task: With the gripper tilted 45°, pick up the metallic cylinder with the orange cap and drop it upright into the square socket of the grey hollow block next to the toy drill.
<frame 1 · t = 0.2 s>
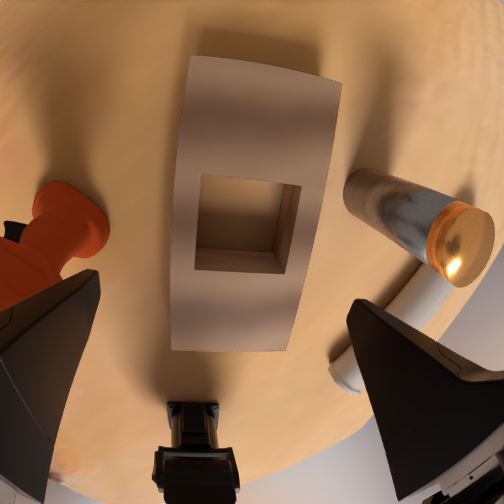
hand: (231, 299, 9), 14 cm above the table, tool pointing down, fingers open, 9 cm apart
grey hollow block: (239, 212, 23), on the table
tube: (404, 291, 30), on the table
toy drill: (36, 190, 19), on the table
metallic cylinder: (365, 193, 24), on the table
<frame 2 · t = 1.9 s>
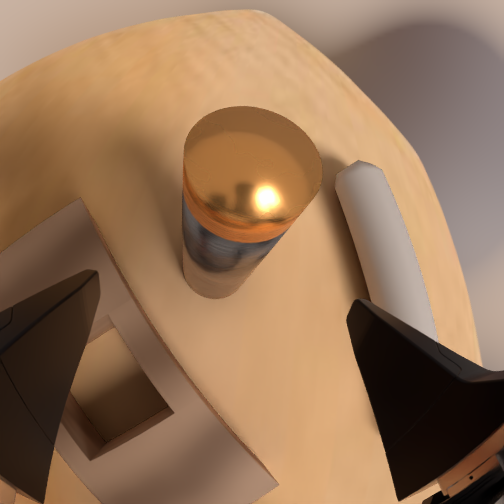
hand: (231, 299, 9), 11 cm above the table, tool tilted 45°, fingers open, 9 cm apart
grey hollow block: (111, 384, 16), on the table
tube: (379, 305, 23), on the table
metallic cylinder: (214, 267, 21), on the table
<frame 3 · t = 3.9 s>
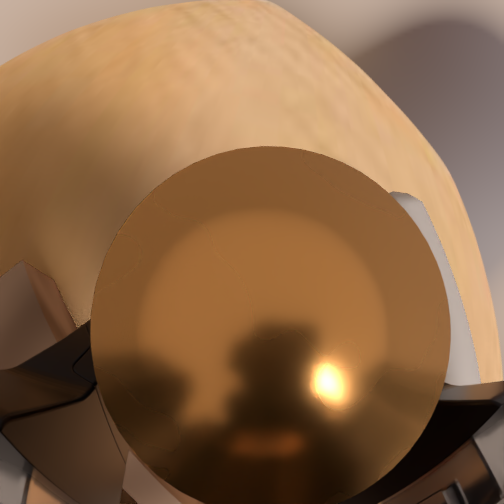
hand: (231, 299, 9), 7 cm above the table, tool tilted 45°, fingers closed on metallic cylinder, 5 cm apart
grey hollow block: (95, 477, 10), on the table
tube: (417, 363, 18), on the table
metallic cylinder: (210, 344, 15), on the table, touching gripper
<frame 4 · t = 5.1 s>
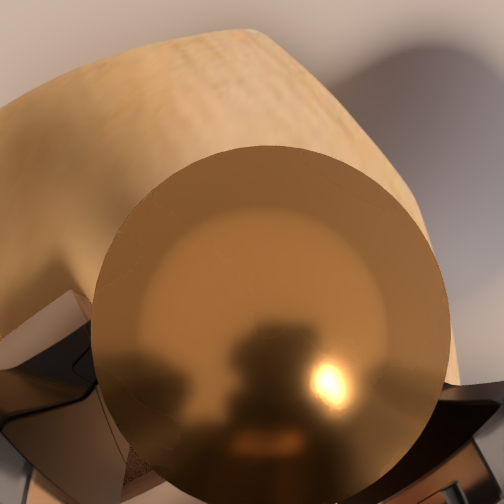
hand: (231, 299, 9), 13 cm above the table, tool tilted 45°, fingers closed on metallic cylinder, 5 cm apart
grey hollow block: (117, 444, 17), on the table
metallic cylinder: (211, 344, 15), point 7 cm above the table, touching gripper
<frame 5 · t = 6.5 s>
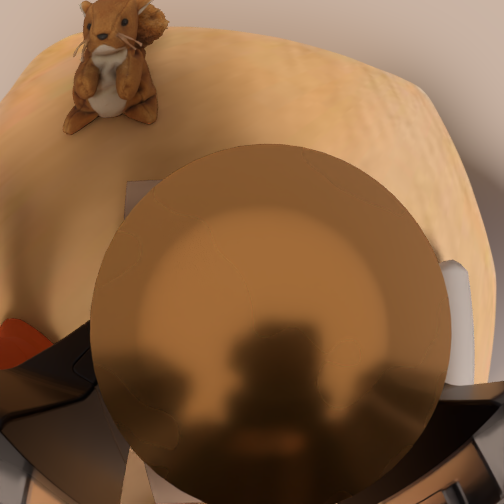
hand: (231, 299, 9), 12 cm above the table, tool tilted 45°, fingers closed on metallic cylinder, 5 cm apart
grey hollow block: (204, 342, 20), on the table
tube: (433, 379, 24), on the table
toy drill: (0, 329, 16), on the table
metallic cylinder: (211, 344, 15), point 6 cm above the table, touching gripper
stuffed squirrel: (120, 94, 26), on the table
when the fingers open (8 cm above the table, at t = 7.7 s): metallic cylinder drops 1 cm, resting in grey hollow block.
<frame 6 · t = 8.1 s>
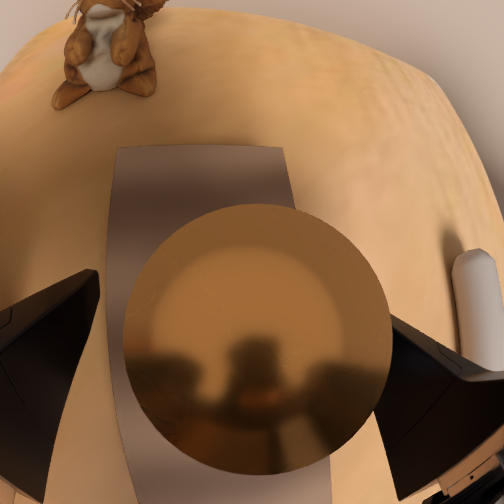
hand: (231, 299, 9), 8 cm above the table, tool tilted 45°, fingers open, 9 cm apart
grey hollow block: (208, 344, 16), on the table
tube: (464, 379, 20), on the table
metallic cylinder: (209, 345, 16), resting in grey hollow block
stuffed squirrel: (116, 69, 22), on the table
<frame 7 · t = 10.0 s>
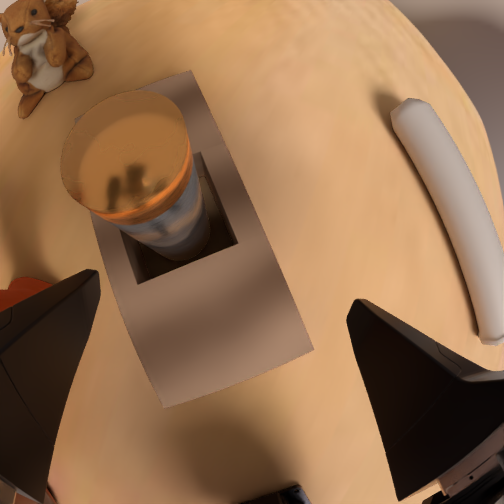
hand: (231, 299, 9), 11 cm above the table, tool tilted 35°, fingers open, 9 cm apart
grey hollow block: (179, 229, 21), on the table
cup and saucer: (25, 483, 15), on the table
tube: (448, 223, 24), on the table
toy drill: (10, 297, 19), on the table
metallic cylinder: (179, 229, 21), resting in grey hollow block
stuffed squirrel: (59, 69, 23), on the table
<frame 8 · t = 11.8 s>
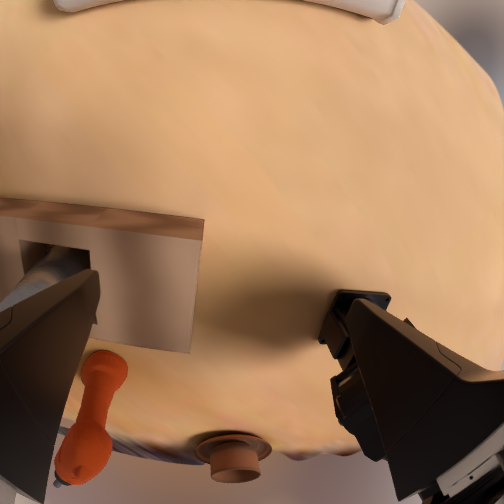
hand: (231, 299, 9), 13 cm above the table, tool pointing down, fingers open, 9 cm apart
grey hollow block: (75, 259, 21), on the table
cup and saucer: (232, 443, 38), on the table
toy drill: (93, 384, 29), on the table
metallic cylinder: (76, 259, 21), resting in grey hollow block
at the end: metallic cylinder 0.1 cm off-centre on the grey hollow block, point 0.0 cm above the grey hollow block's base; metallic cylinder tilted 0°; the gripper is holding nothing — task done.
